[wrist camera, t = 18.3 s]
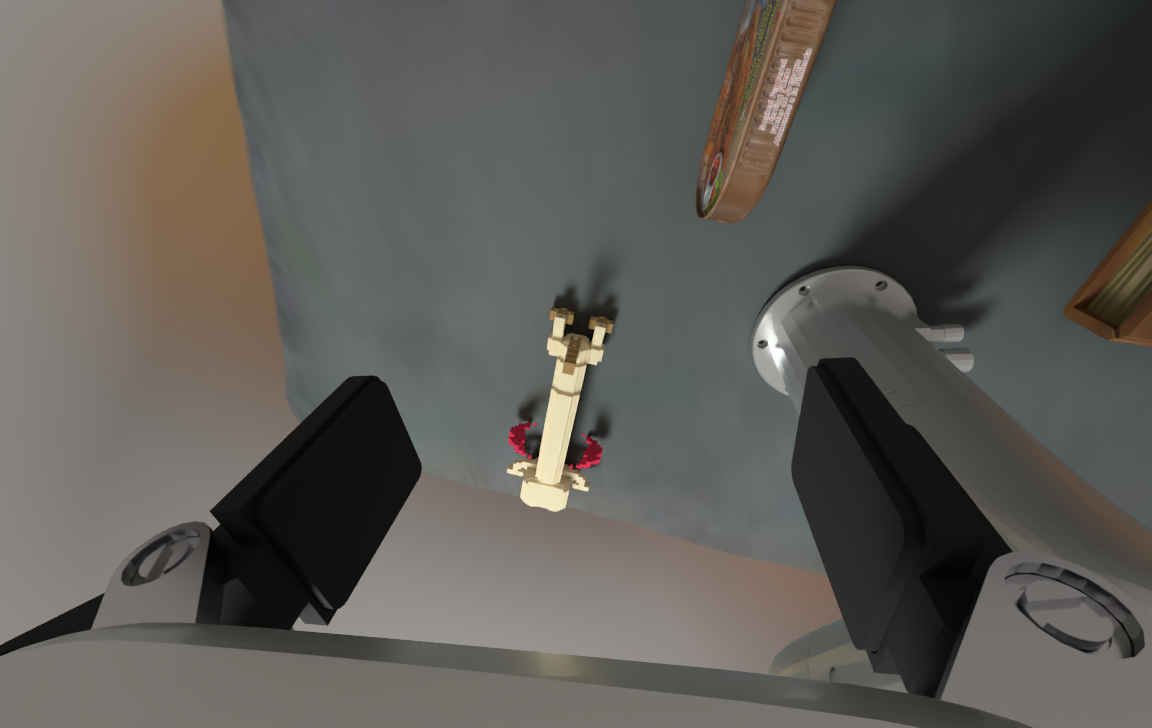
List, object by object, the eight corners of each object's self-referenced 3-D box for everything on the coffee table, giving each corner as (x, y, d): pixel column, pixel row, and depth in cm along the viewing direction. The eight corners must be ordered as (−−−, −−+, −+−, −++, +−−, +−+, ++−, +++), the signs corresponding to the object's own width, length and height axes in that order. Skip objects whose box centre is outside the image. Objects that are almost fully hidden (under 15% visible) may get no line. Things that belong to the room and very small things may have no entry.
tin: (764, -62, 25) (808, -119, 18) (818, -53, 25) (883, -107, 18) (688, 202, 34) (698, 233, 27) (728, 210, 34) (749, 243, 26)
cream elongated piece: (534, 295, 41) (505, 485, 53) (510, 332, 34) (483, 544, 46) (636, 318, 41) (584, 504, 53) (636, 360, 33) (576, 566, 45)
